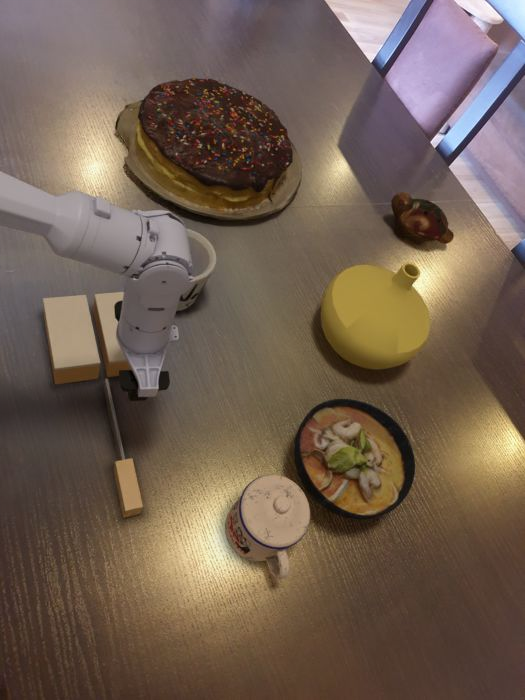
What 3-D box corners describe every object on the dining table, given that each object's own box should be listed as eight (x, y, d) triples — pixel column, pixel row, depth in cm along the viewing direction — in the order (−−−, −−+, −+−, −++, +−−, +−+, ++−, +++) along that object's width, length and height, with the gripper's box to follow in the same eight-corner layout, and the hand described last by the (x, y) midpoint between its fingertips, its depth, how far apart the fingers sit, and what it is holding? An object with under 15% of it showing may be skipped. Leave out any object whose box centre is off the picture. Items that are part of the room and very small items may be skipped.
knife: (140, 513, 73) (143, 506, 70) (123, 518, 72) (125, 510, 69) (113, 387, 81) (114, 376, 78) (97, 390, 80) (98, 379, 77)
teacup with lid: (216, 501, 76) (238, 472, 67) (277, 490, 80) (306, 460, 70) (237, 594, 71) (264, 577, 61) (302, 578, 74) (337, 559, 65)
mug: (170, 330, 88) (181, 292, 80) (107, 267, 91) (112, 224, 83) (216, 299, 94) (231, 260, 86) (156, 241, 97) (165, 198, 89)
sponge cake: (55, 384, 78) (54, 368, 75) (43, 316, 83) (42, 298, 80) (147, 371, 84) (151, 356, 80) (131, 308, 88) (134, 290, 85)
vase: (392, 403, 94) (458, 342, 78) (293, 355, 93) (340, 284, 77) (412, 324, 104) (473, 257, 89) (323, 280, 104) (369, 205, 88)
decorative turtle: (378, 205, 120) (399, 176, 114) (440, 233, 123) (463, 207, 116) (376, 235, 114) (398, 206, 108) (441, 264, 117) (465, 237, 110)
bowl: (402, 519, 83) (439, 499, 75) (298, 546, 76) (326, 526, 68) (361, 414, 91) (391, 385, 83) (263, 430, 84) (285, 400, 76)
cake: (266, 103, 128) (279, 61, 120) (325, 222, 112) (344, 183, 103) (101, 96, 114) (103, 48, 106) (140, 231, 97) (145, 187, 89)
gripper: (193, 368, 59) (172, 421, 70) (177, 259, 66) (161, 323, 77) (124, 369, 56) (114, 425, 67) (115, 257, 63) (107, 323, 74)
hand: (135, 371), depth 72 cm, fingers open, 7 cm apart
